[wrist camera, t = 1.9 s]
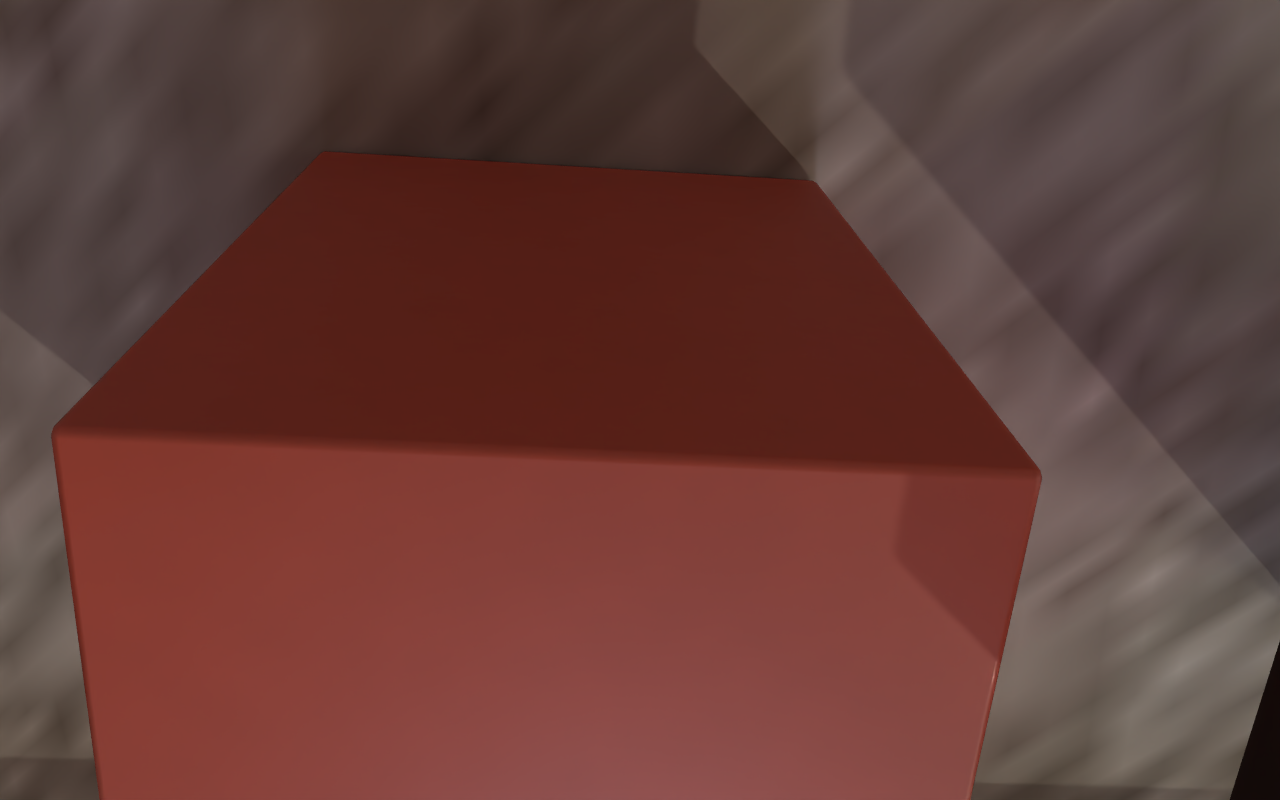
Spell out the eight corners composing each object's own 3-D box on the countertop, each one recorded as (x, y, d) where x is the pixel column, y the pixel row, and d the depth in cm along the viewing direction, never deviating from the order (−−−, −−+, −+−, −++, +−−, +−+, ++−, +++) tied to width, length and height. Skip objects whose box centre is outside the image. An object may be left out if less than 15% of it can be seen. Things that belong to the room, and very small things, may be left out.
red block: (320, 149, 14) (44, 429, 7) (817, 179, 15) (1047, 471, 7) (334, 582, 17) (140, 1130, 9) (763, 597, 17) (897, 1135, 10)
